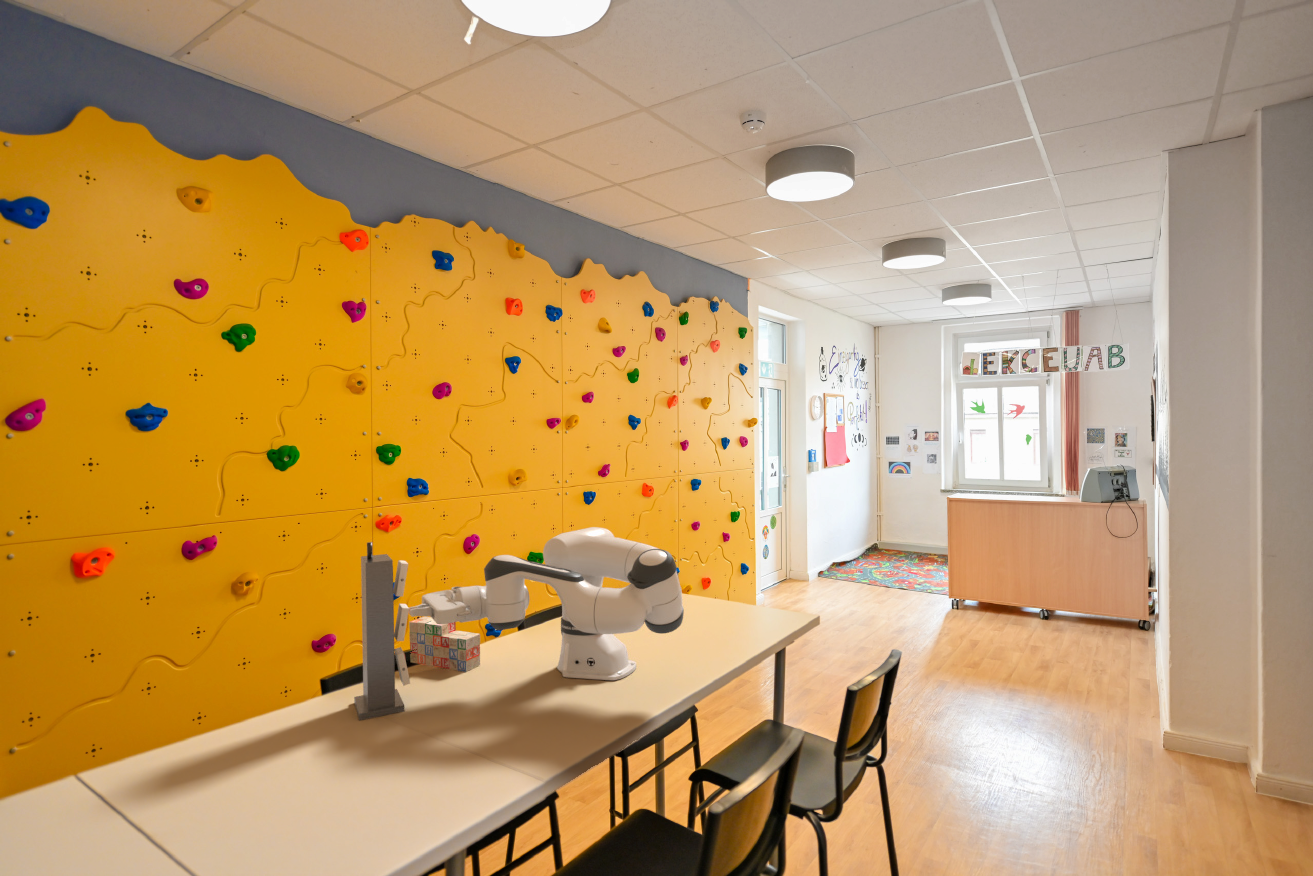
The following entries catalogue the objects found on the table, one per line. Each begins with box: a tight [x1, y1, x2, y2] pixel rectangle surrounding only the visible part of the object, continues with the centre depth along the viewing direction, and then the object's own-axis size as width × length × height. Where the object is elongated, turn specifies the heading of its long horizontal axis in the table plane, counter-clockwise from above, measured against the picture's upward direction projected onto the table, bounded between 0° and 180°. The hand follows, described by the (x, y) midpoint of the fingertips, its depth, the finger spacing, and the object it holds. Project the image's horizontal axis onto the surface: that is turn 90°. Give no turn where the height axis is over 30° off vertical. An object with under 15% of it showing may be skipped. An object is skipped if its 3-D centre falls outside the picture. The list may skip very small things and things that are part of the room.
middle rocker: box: [394, 603, 410, 642], centre depth 166 cm, size 2×5×8 cm, turn 29°
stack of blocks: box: [408, 616, 481, 673], centre depth 194 cm, size 21×6×12 cm, turn 64°
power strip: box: [353, 541, 406, 721], centre depth 164 cm, size 10×12×40 cm
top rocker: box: [393, 559, 409, 597], centre depth 166 cm, size 2×5×8 cm, turn 30°
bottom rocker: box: [394, 646, 411, 687], centre depth 166 cm, size 2×5×8 cm, turn 29°
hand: (409, 612), depth 167 cm, fingers closed
